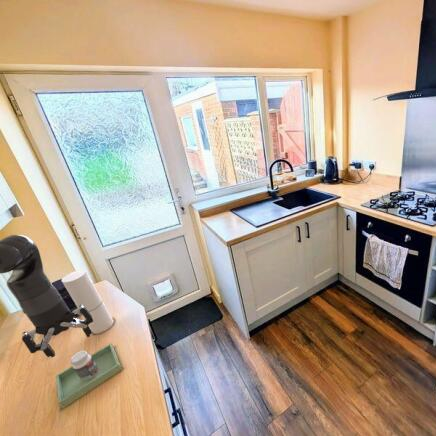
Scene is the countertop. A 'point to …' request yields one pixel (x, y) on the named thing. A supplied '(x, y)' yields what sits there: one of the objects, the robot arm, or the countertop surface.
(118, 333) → the countertop surface
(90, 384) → the tray
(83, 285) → the cylindrical container
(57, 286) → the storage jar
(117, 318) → the countertop surface
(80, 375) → the pill bottle
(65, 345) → the countertop surface
